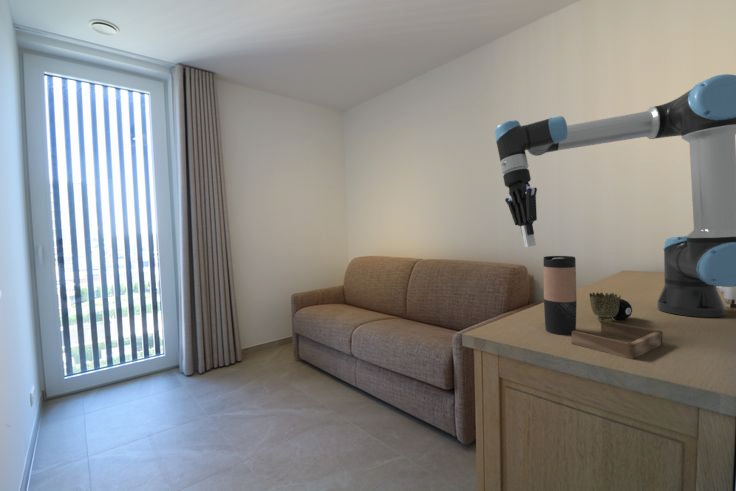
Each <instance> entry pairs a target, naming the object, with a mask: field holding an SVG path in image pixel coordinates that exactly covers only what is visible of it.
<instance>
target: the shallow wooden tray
mask: <svg viewBox="0 0 736 491" xmlns="http://www.w3.org/2000/svg"><path fill="white" fill-rule="evenodd" d="M600 333H602V334H607V335H610V336H611V335H612V336H616V337H620V338H625V339H629V340H632V341H631V342H628V341H622V340H618V339H613V338H609V337H604V336H601V335H600V336H599V335H597V334H596V335H595V334H590V333H587V332H586V333H585V332H582V331H577V330H576V331H572V335H571V344H573V345H576V346H579V347H584V348H588V349H591V350H594V351H598V352H601V353H602V352H603V353H606V352H607V354H610V355H611V354H612V355H615V356H618V357H622V358H626V359H629V360H630V359H631V360H635V359H637V358H638V357H640V356H643V355H644V354H646V353H649V352H650V351H652V350H654V349H656V348H658V347H660V346H662V345H663V331H661V330H656V329H651V328H645V327H641V326H633V325H629V324H625V323H624V324H623V323H618V322H613V321H612V322H608V321H601V322H600Z"/></svg>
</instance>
